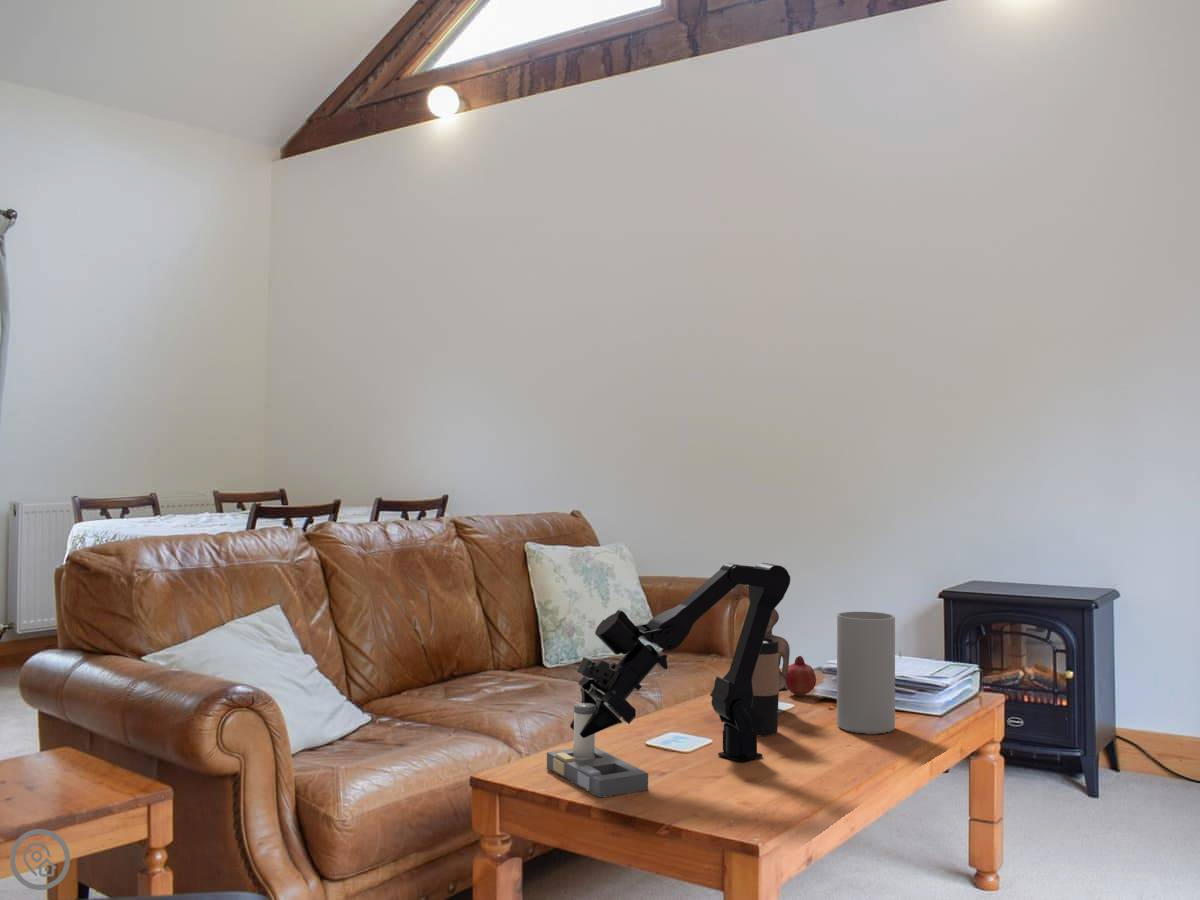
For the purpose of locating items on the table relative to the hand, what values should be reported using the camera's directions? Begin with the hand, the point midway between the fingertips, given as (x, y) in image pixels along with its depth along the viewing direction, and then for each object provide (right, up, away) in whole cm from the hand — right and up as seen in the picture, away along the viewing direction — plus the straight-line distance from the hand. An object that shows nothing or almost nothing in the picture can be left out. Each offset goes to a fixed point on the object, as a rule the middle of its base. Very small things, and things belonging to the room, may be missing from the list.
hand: (576, 732), depth 203 cm
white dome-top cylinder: (+1, -7, 0) cm, 8 cm away
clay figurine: (+43, -8, +52) cm, 68 cm away
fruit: (+55, -9, +68) cm, 88 cm away
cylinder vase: (+64, -8, +35) cm, 73 cm away
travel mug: (+40, -8, +31) cm, 51 cm away
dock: (+4, -7, -4) cm, 9 cm away
